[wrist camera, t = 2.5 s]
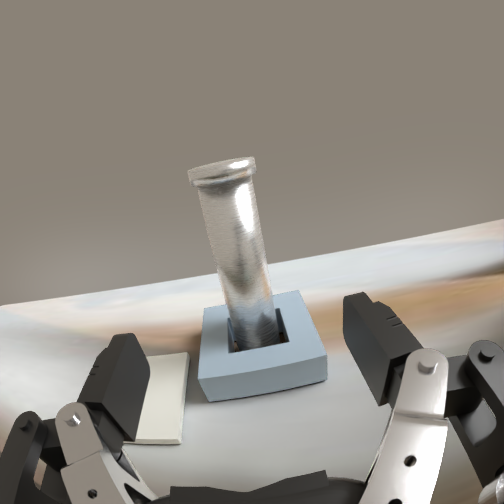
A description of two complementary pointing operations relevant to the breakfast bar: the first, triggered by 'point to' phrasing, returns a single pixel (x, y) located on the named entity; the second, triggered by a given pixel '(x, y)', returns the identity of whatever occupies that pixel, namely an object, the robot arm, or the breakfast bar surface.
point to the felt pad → (164, 400)
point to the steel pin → (238, 248)
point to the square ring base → (260, 354)
